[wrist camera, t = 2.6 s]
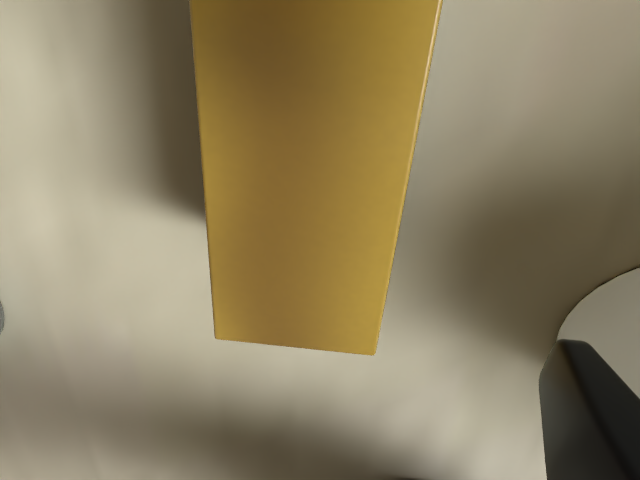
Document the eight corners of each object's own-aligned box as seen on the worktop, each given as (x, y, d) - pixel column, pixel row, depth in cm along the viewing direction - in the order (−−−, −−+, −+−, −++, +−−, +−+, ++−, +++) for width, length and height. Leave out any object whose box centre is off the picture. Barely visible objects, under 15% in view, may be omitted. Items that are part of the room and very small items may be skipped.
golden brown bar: (460, -251, 12) (490, -245, 8) (376, 252, 20) (375, 356, 17) (229, -270, 12) (166, -271, 8) (242, 239, 20) (214, 339, 17)
